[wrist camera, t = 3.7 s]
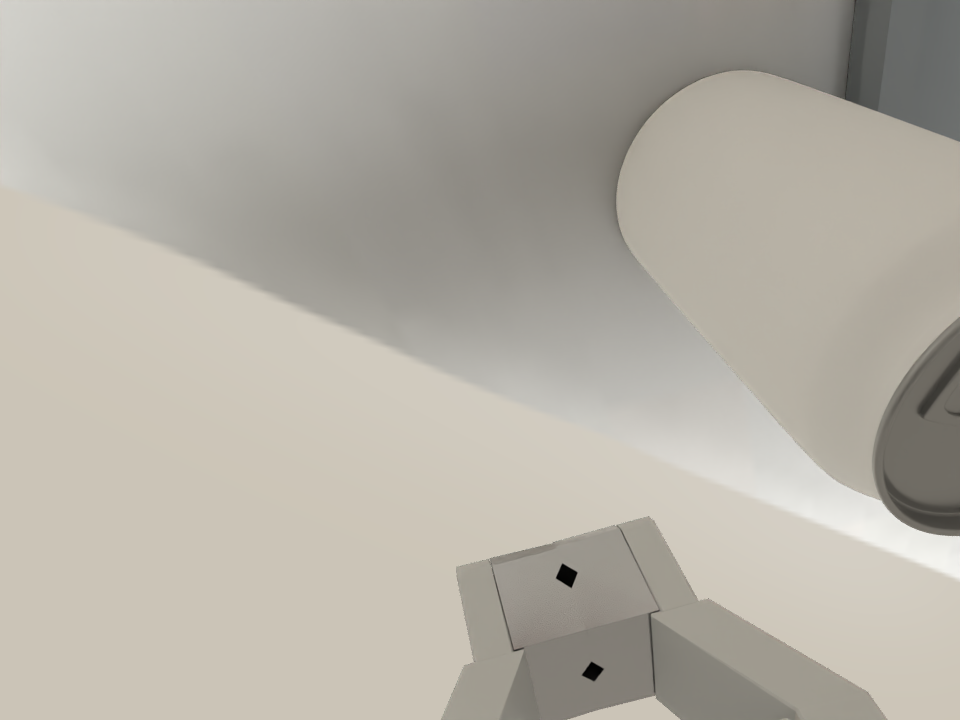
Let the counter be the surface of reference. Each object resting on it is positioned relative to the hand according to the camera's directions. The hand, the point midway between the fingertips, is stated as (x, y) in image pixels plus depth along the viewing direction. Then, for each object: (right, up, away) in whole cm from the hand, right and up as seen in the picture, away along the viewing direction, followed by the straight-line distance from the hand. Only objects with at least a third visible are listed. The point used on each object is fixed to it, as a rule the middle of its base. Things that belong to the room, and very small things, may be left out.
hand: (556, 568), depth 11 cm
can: (+6, +9, +11) cm, 15 cm away
